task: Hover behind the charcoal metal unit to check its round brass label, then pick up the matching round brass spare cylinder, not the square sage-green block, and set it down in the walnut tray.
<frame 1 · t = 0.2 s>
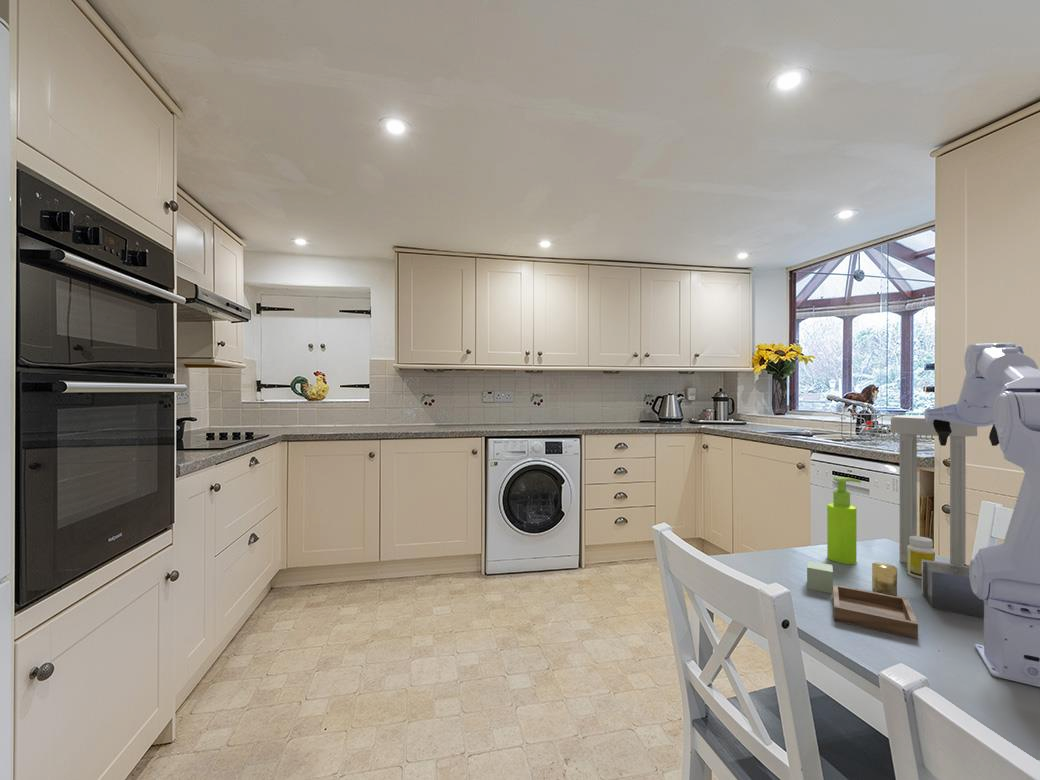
hand: (966, 441, 94), 31 cm above the table, tool tilted 45°, fingers open, 7 cm apart
supplement bottle: (920, 576, 105), on the table
stool: (932, 562, 114), on the table
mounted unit: (956, 607, 90), on the table
soap dispenser: (844, 560, 115), on the table
walnut tray: (871, 616, 86), on the table
brass spare: (884, 595, 95), on the table
sage block: (819, 587, 99), on the table
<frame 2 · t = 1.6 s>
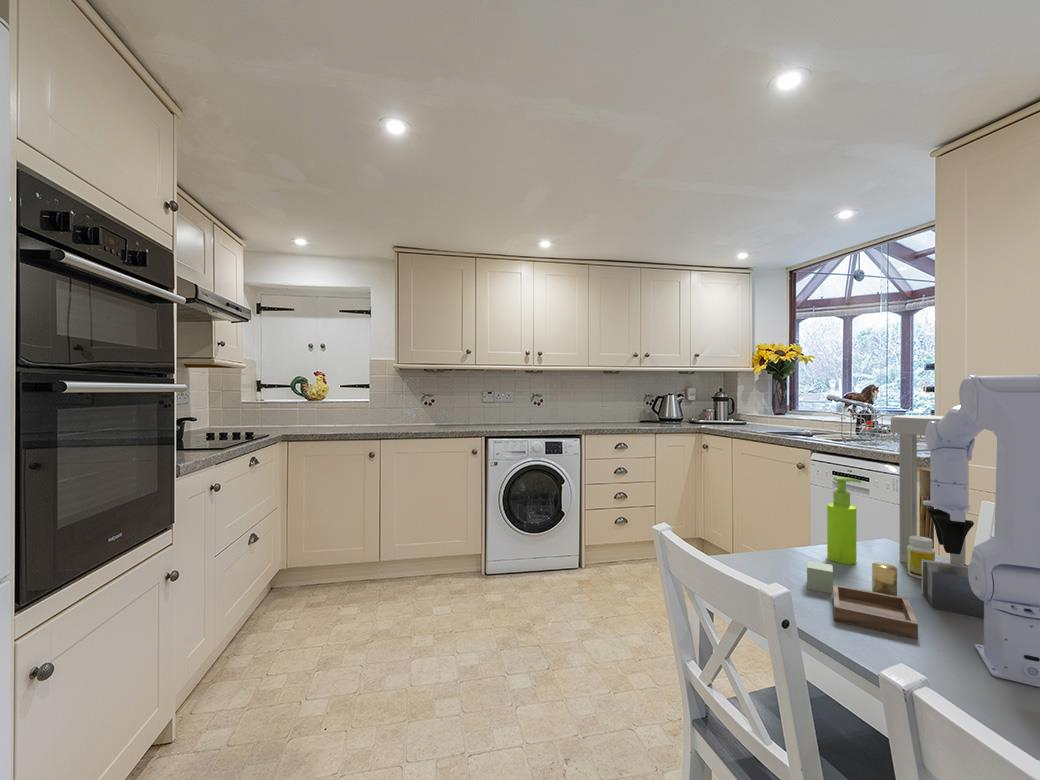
hand: (949, 549, 95), 9 cm above the table, tool pointing down, fingers open, 5 cm apart
nothing on the table moved.
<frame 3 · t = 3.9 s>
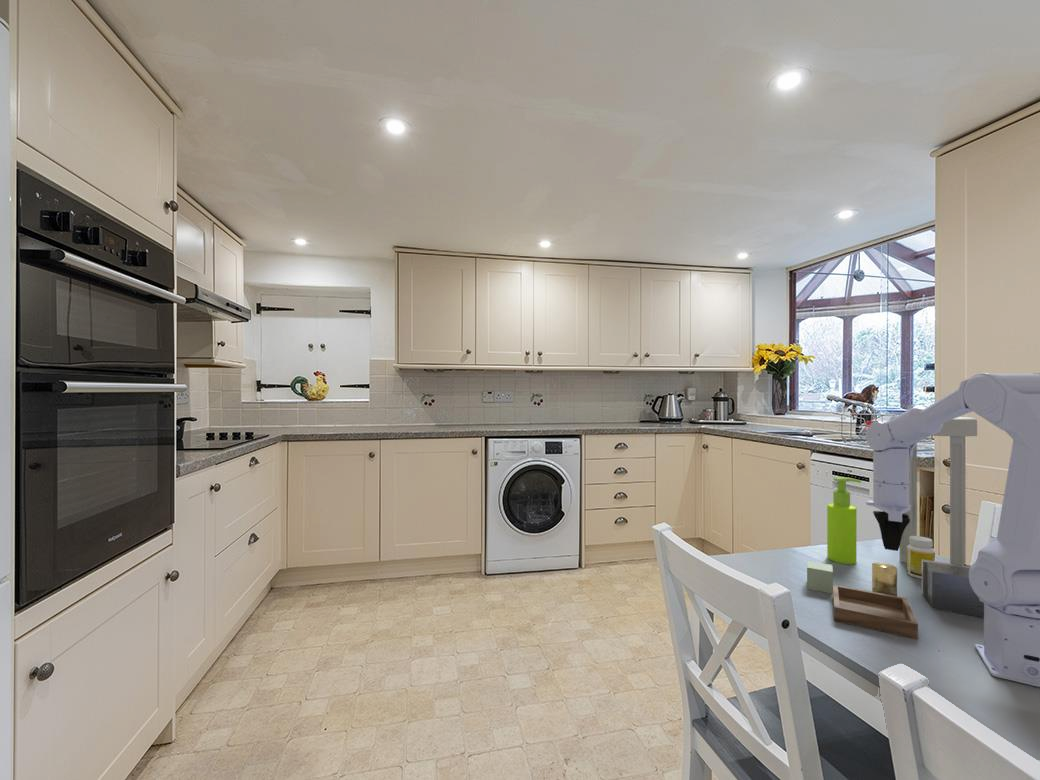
hand: (891, 549, 95), 9 cm above the table, tool pointing down, fingers closed
nothing on the table moved.
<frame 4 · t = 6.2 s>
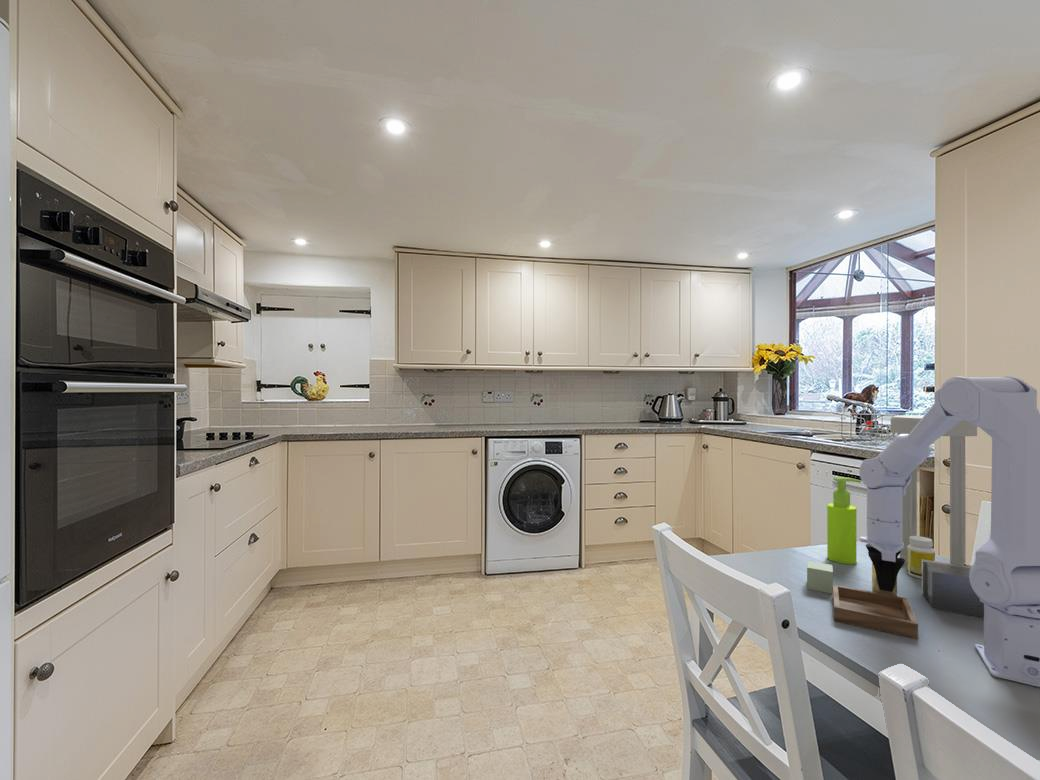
hand: (884, 586, 95), 2 cm above the table, tool pointing down, fingers closed on brass spare, 4 cm apart
brass spare: (884, 595, 95), on the table, touching gripper
everything else where it was.
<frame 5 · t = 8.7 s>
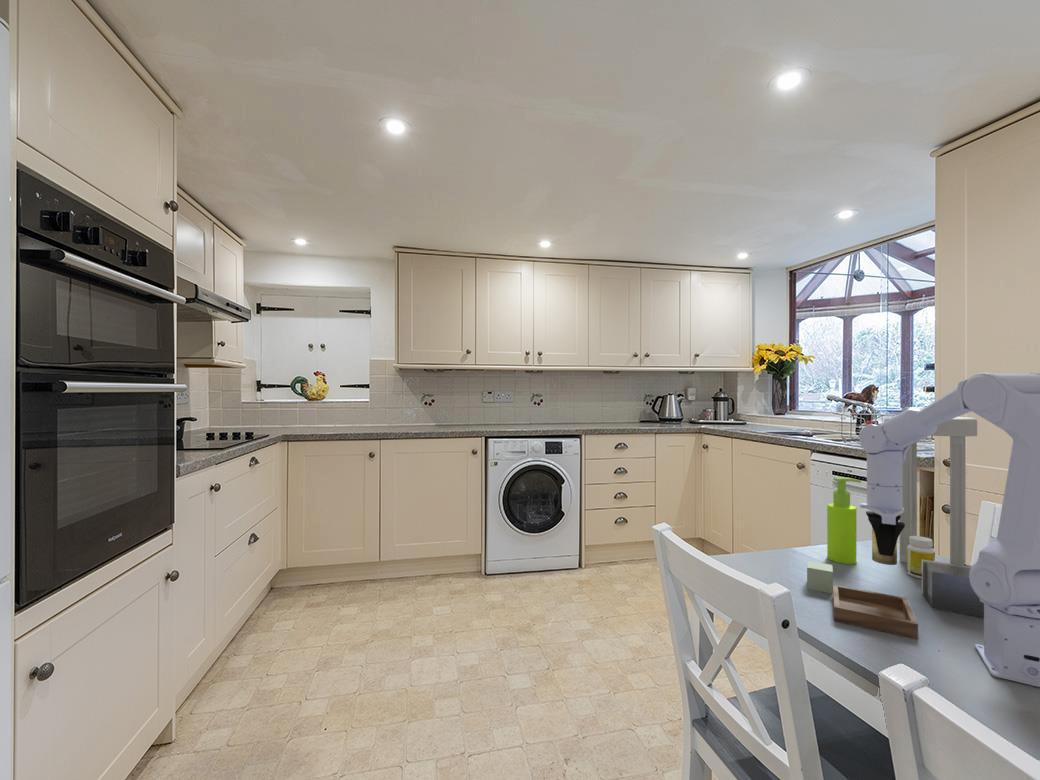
hand: (884, 551, 95), 9 cm above the table, tool pointing down, fingers closed on brass spare, 4 cm apart
brass spare: (884, 561, 95), point 7 cm above the table, touching gripper
everything else where it was.
when the fingers open (3 cm above the table, at t = 11.3 s): brass spare stays where it is, resting on walnut tray.
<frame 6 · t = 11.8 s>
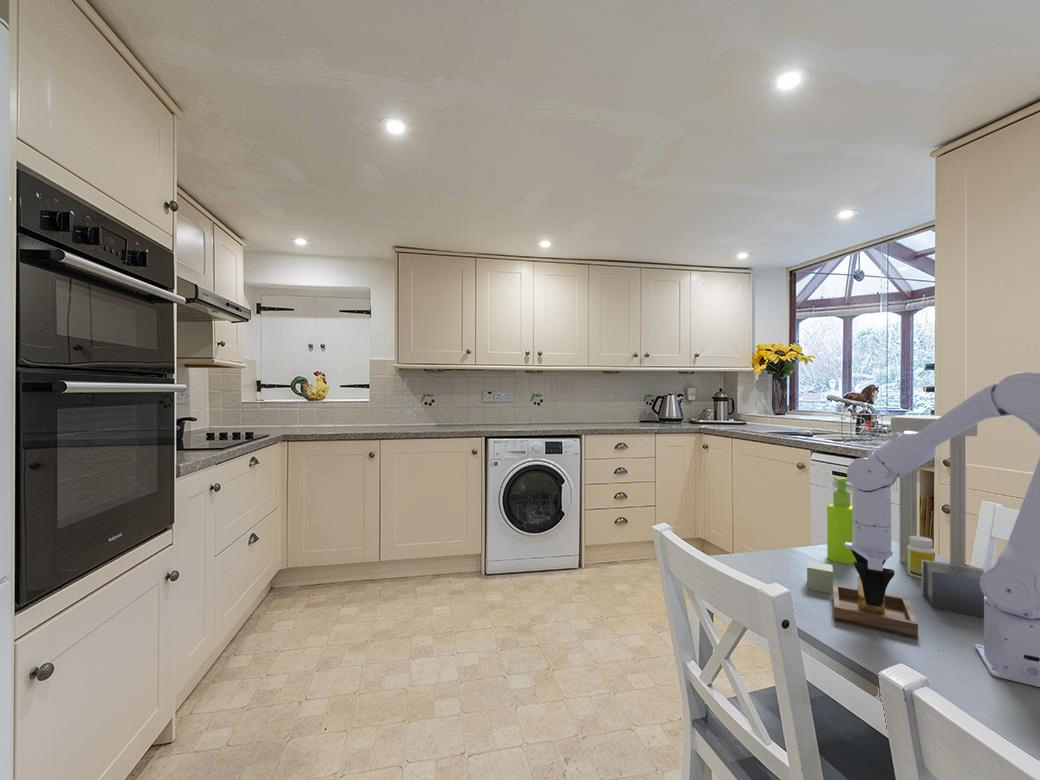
hand: (871, 597, 86), 4 cm above the table, tool pointing down, fingers open, 7 cm apart
brass spare: (871, 612, 86), point 1 cm above the table, touching walnut tray
everything else where it was.
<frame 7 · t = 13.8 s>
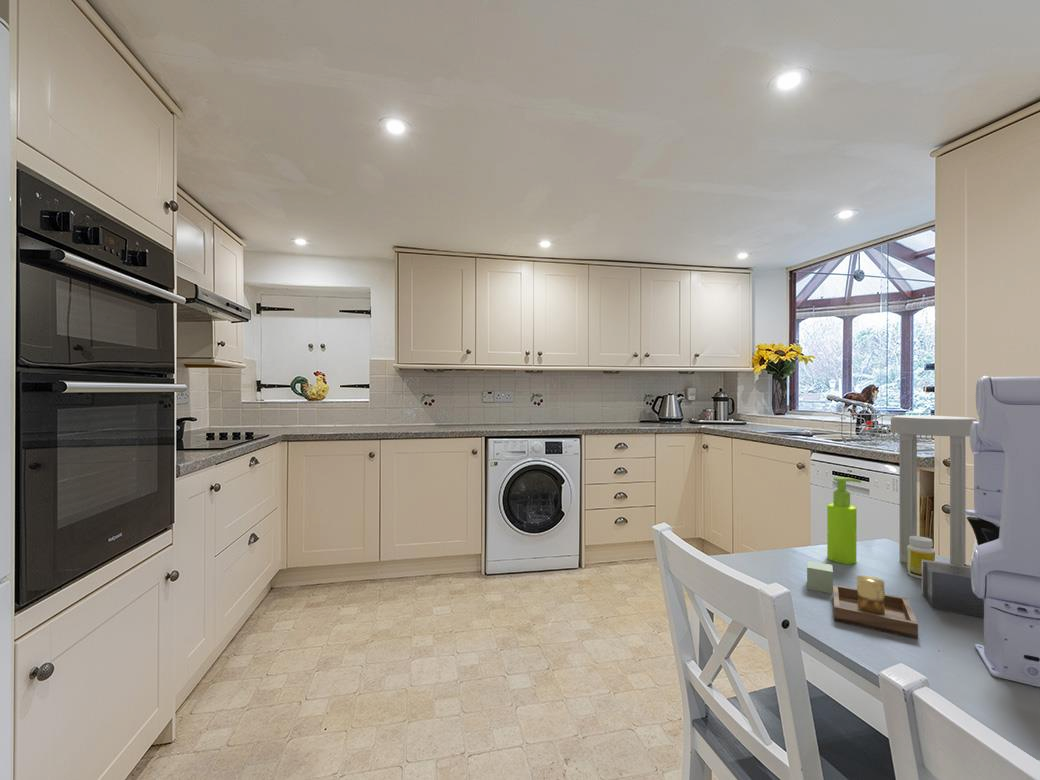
hand: (995, 564, 85), 10 cm above the table, tool pointing down, fingers open, 7 cm apart
nothing on the table moved.
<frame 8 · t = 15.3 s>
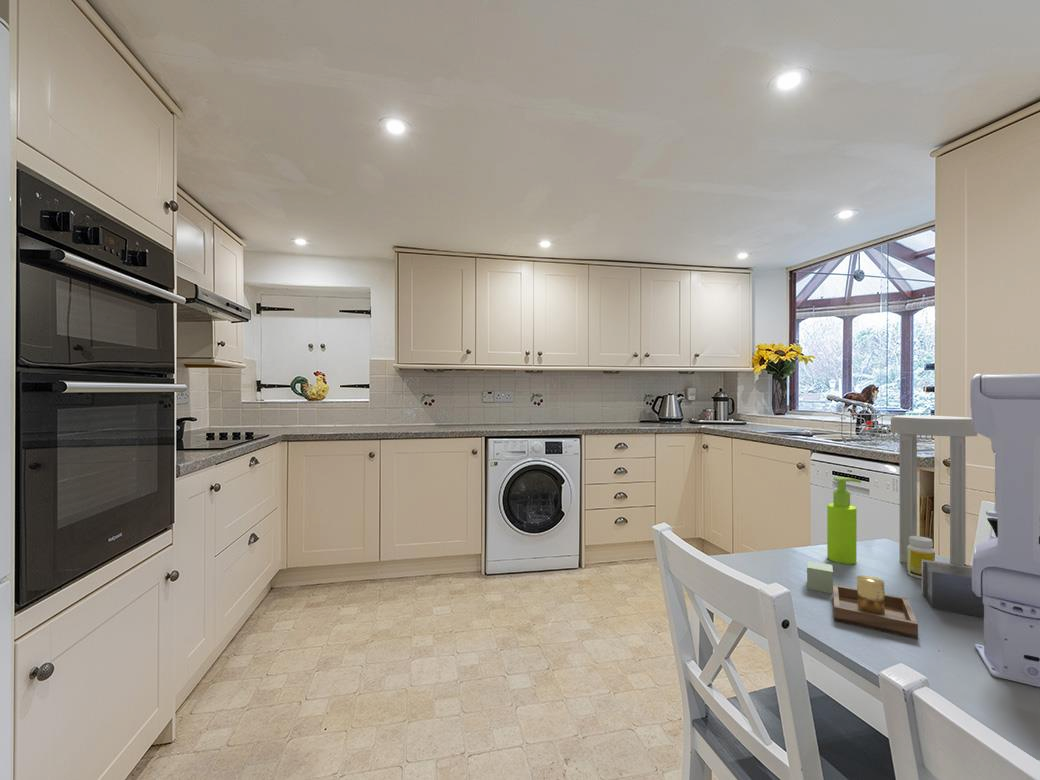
hand: (1017, 565, 84), 10 cm above the table, tool pointing down, fingers open, 7 cm apart
nothing on the table moved.
at the end: brass spare 0.0 cm off-centre on the walnut tray, point 0.7 cm above the walnut tray's base; brass spare tilted 2°; the gripper is holding nothing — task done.
